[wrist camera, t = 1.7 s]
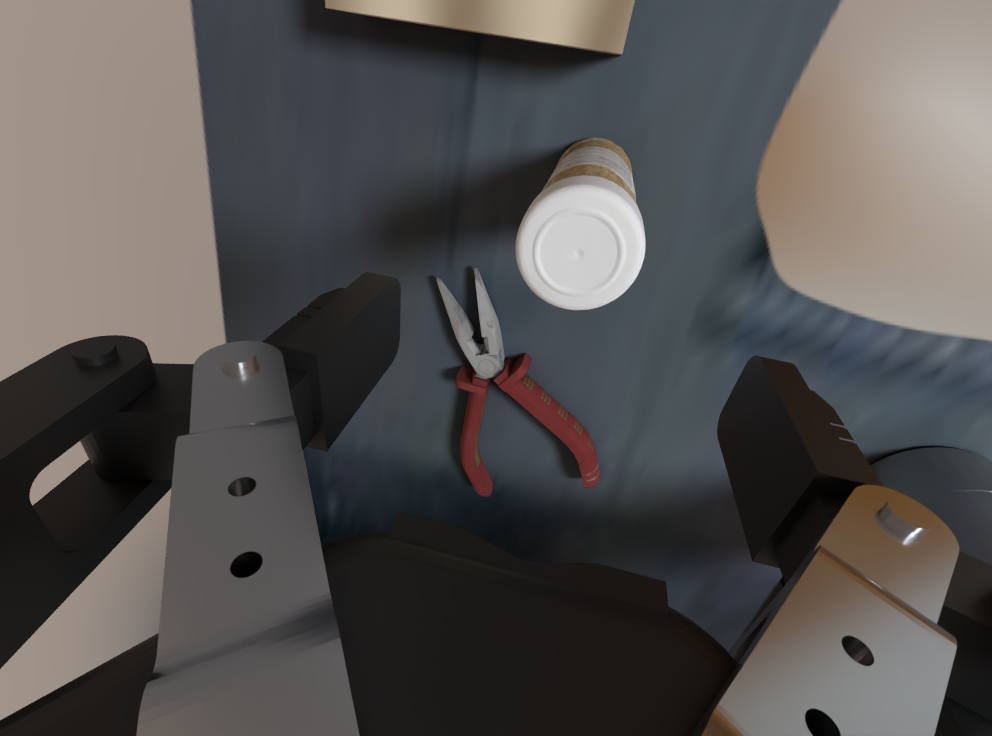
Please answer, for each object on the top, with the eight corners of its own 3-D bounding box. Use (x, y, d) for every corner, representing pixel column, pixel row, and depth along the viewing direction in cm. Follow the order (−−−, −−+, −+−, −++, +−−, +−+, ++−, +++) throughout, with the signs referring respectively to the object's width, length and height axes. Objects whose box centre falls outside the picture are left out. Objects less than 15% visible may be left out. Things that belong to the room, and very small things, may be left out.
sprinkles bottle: (599, 232, 29) (590, 336, 18) (538, 190, 28) (489, 270, 17) (650, 165, 26) (676, 237, 15) (583, 117, 26) (561, 156, 15)
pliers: (539, 244, 31) (533, 258, 28) (605, 471, 40) (604, 494, 38) (390, 284, 35) (375, 298, 32) (481, 481, 44) (474, 503, 42)
